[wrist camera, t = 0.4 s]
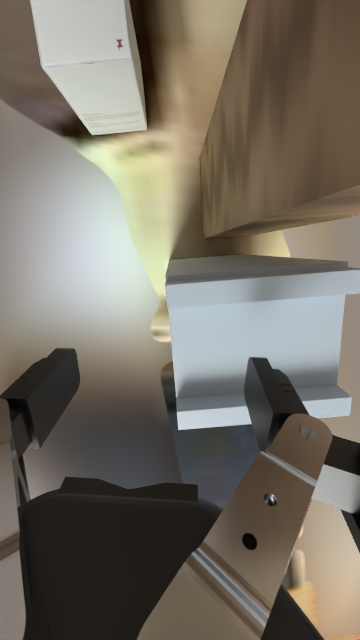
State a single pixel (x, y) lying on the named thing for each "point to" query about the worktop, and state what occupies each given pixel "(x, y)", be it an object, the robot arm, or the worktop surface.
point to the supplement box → (93, 61)
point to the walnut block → (285, 121)
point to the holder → (255, 332)
